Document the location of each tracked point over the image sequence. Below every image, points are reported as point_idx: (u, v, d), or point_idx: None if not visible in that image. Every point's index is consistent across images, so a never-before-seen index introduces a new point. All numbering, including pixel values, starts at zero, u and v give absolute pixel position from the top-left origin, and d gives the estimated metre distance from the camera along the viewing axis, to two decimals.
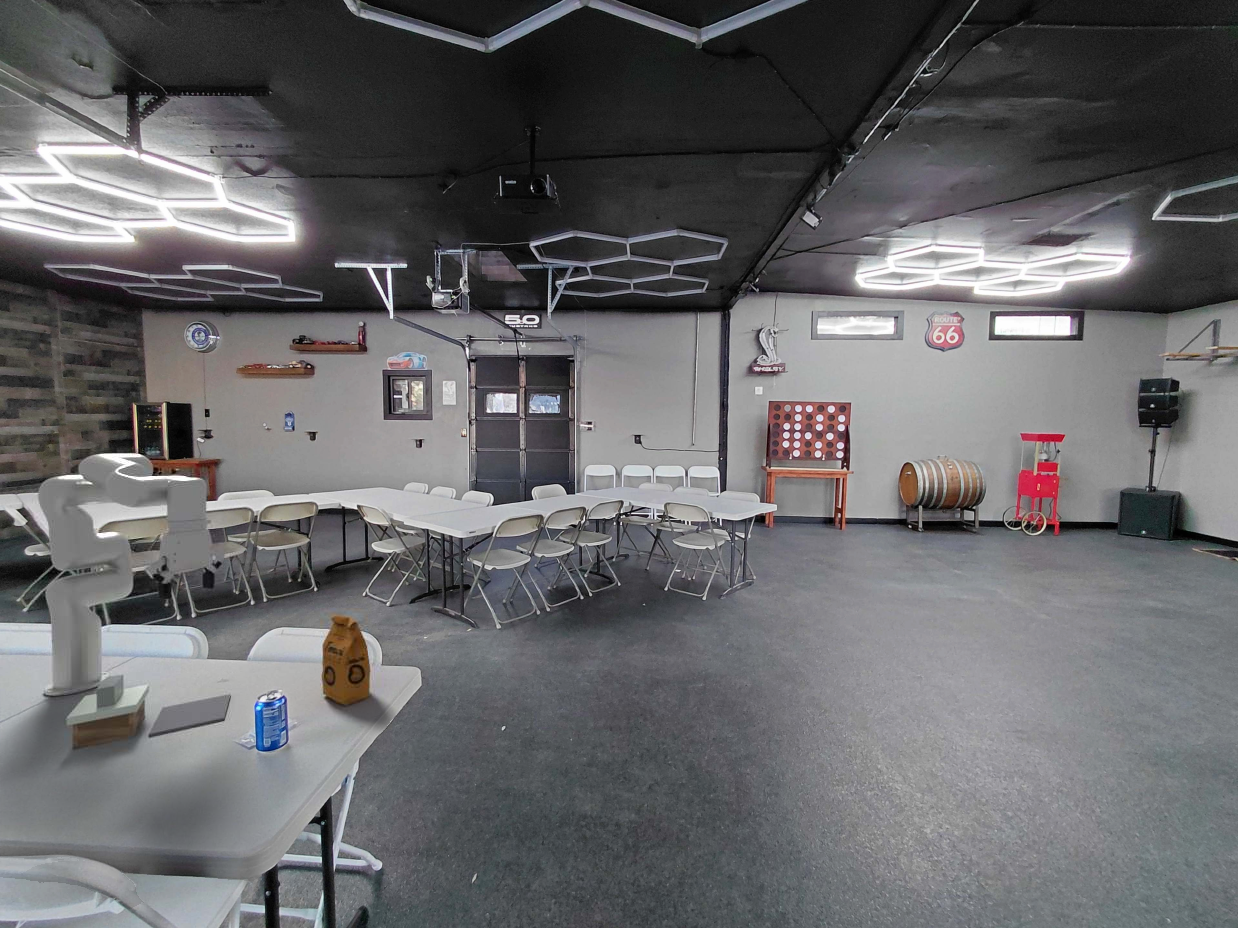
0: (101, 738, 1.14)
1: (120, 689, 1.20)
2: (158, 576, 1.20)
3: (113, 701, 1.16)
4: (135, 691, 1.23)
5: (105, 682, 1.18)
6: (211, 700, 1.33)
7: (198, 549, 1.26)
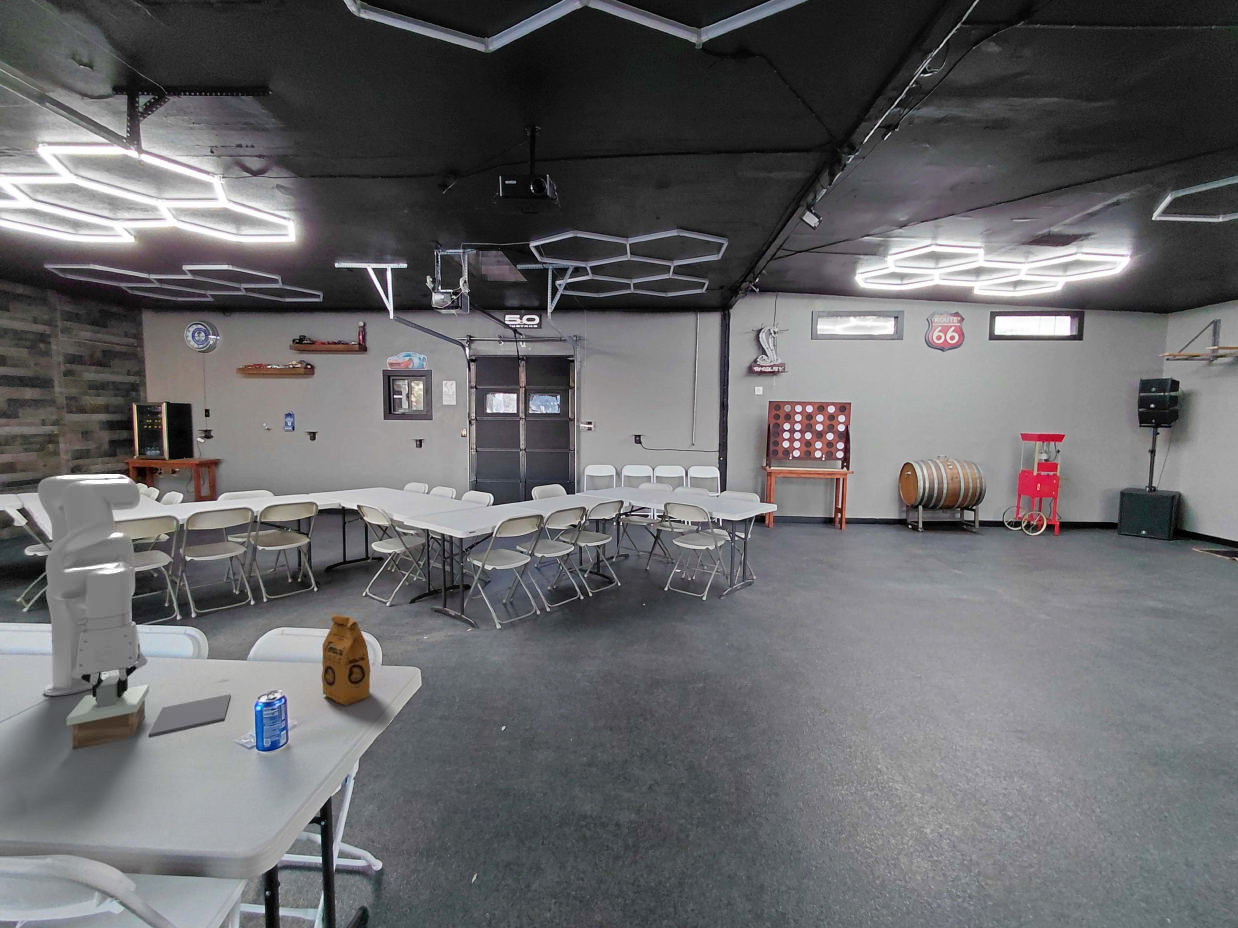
0: (101, 738, 1.14)
1: None
2: None
3: (113, 701, 1.16)
4: (135, 691, 1.23)
5: (105, 682, 1.18)
6: (211, 700, 1.33)
7: None
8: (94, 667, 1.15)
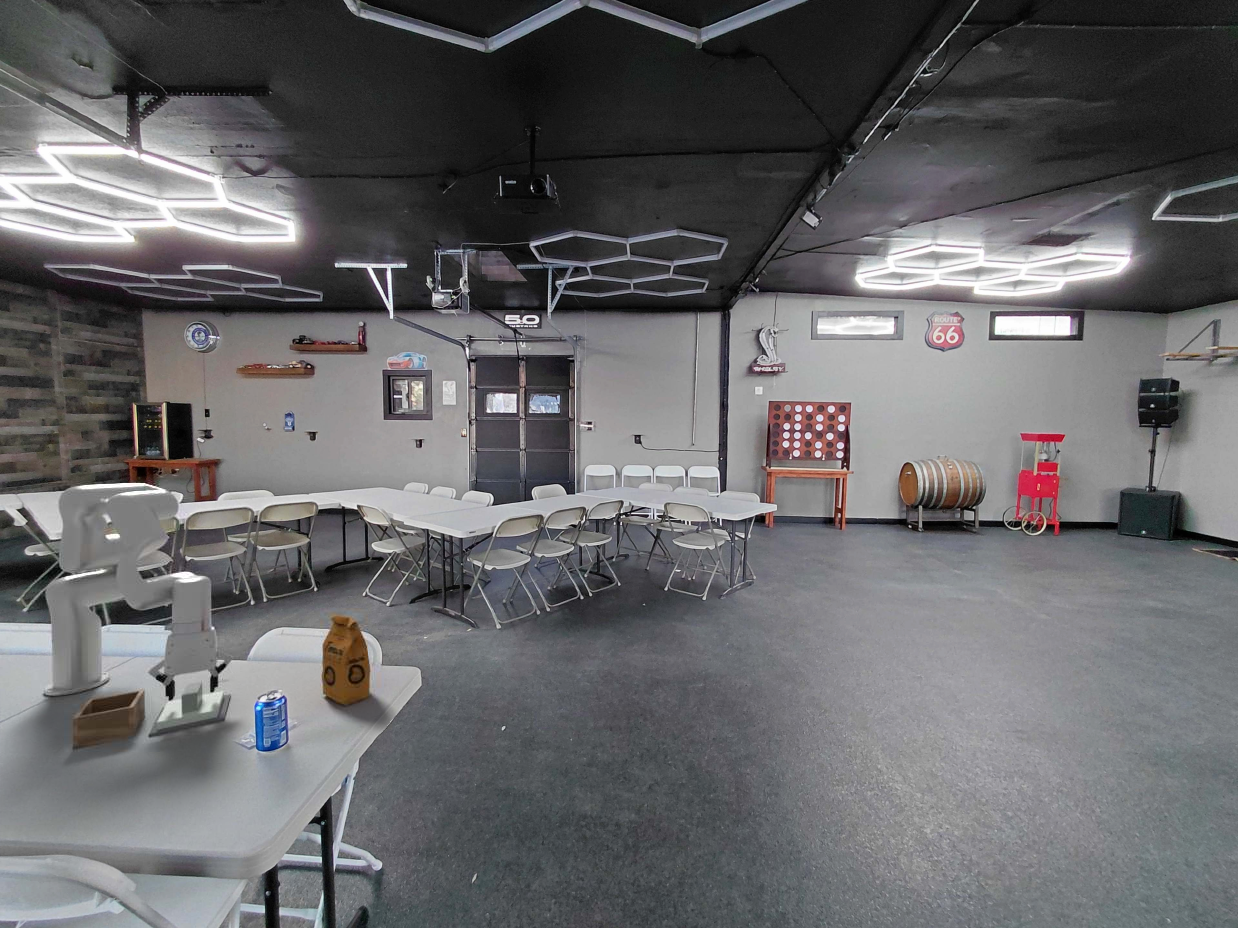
0: (101, 738, 1.14)
1: (200, 695, 1.28)
2: None
3: (196, 707, 1.24)
4: (213, 697, 1.31)
5: (187, 689, 1.26)
6: None
7: None
8: (180, 669, 1.23)
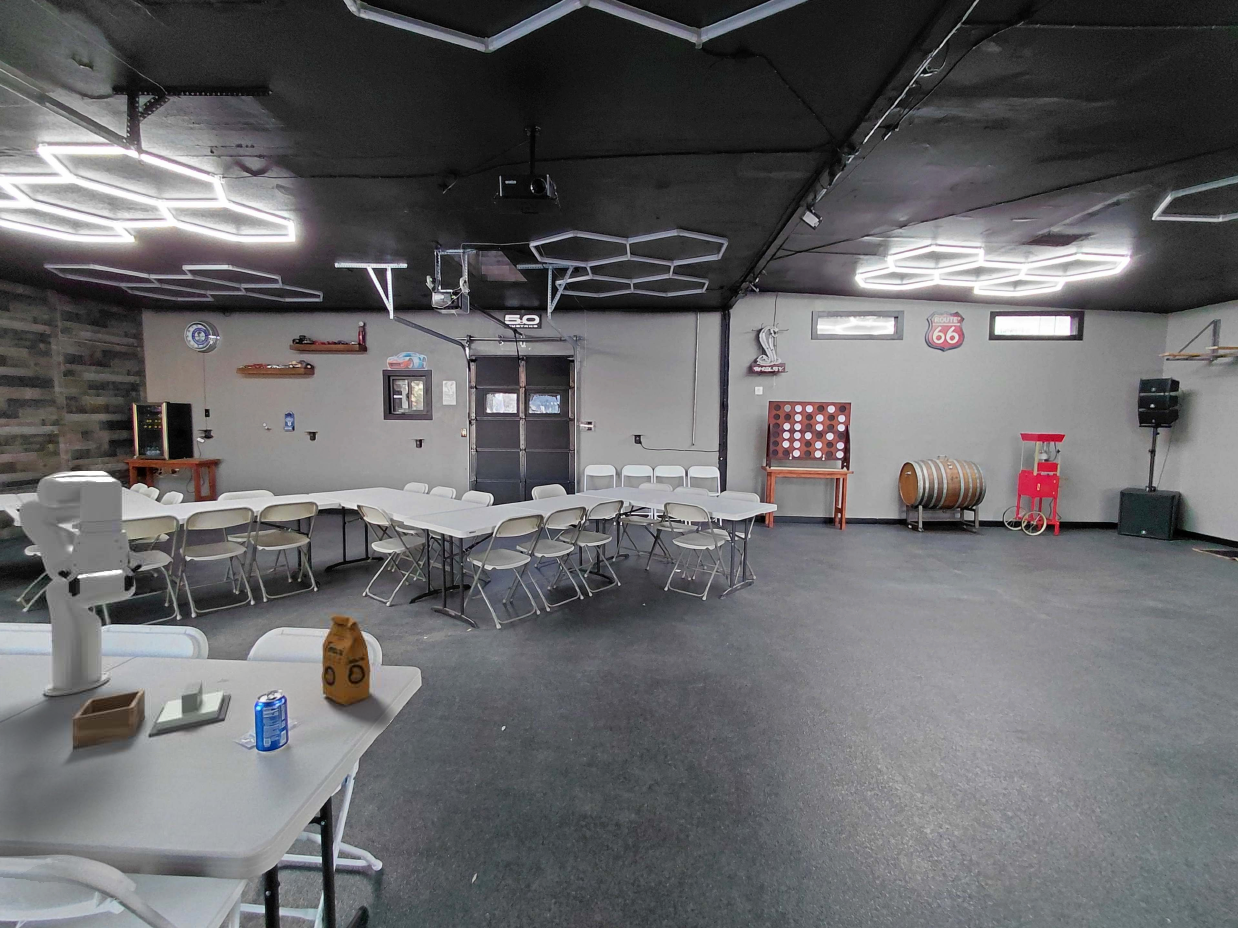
0: (101, 738, 1.14)
1: (200, 695, 1.28)
2: None
3: (196, 707, 1.24)
4: (213, 697, 1.31)
5: (187, 689, 1.26)
6: None
7: None
8: (87, 567, 1.25)
